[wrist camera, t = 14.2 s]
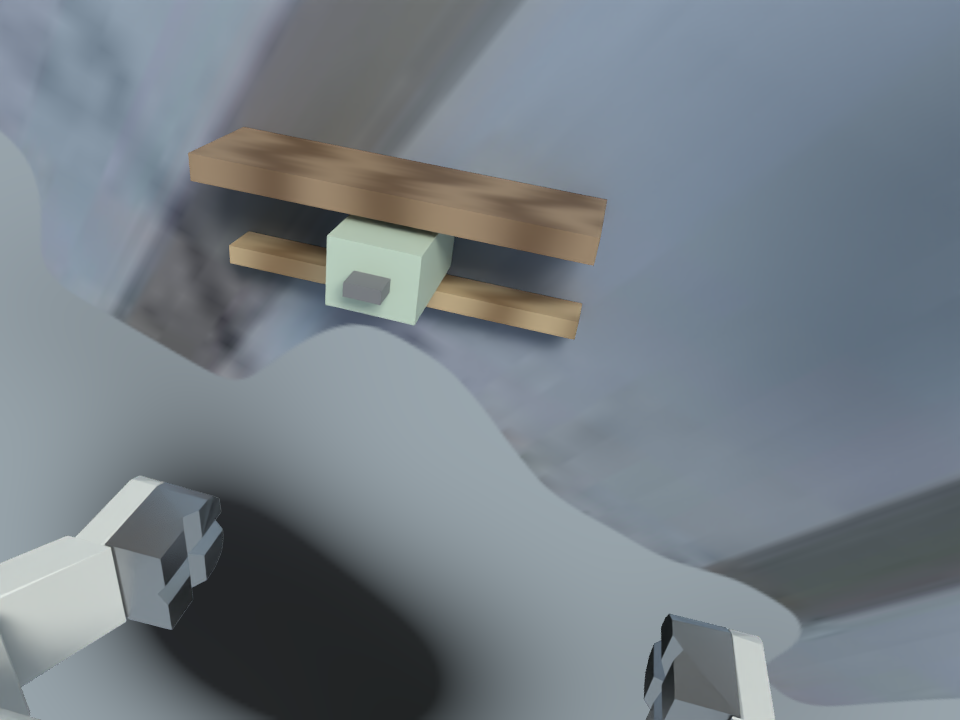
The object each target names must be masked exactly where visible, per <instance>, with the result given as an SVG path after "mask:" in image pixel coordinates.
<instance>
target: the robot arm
mask: <svg viewBox="0 0 960 720" xmlns="http://www.w3.org/2000/svg"><path fill="white" fill-rule="evenodd" d="M220 513H221V508H220V501H219V498H216V497H214V496H211V495H208V494H204V493H201V492H197V491H194V490H190V489H187V488H184V487H180V486H176V485H173V484H170V483H166V482H162V481H158V480H155V479H151V478H147V477H144V476H138V477H135V478H133V479H131V480H130V481H129V482H128V483H127V484H126V485H125V486H124V487H123V488H122V489H121V490H120V491H119V492H118V493H117V494H116V496H114V497H113V498H112V499H111V501H110V502H109V503H108V504H107V505H106V506H105V507H104V508H103V509H102V510H101V511H100V512H99V513H98V514H97V515H96V516H95V517H94V518H93V519H92V520H91V521H90V522H89V523H88V524H87V525H86V526H85V527H84V528H83V530H82V531H81V532H80V533H79V534H78V535H77V536H76V537H71V536H65V537H63V538H60V539H58V540H55V541H53V542H50V543H48V544H46V545H43V546H41V547H38V548H36V549H34V550H31V551H29V552H26V553H24V554H21V555H19V556H17V557H14V558H12V559H9V560H7V561H4V562H2V563H0V720H39V719H36V718H33V717H30V710H29V707H28V705H27V702H26V699H25V697H24V694H23V691H22V689H21V687H22V686H24V685H25V684H27V683H29V682H30V681H32V680H33V679H35V678H37V677H38V676H40V675H42V674H43V673H44V672H46V671H48V670H50V669H51V668H53V667H54V666H56V665H58V664H59V663H61V662H62V661H64V660H65V659H67V658H69V657H70V656H72V655H73V654H75V653H77V652H78V651H80V650H81V649H83V648H85V647H86V646H88V645H89V644H91V643H92V642H94V641H96V640H97V639H99V638H100V637H102V636H104V635H105V634H107V633H109V632H110V631H112V630H113V629H115V628H117V627H118V626H120V625H121V624H123V623H124V622H126V619H130V620H135V621H139V622H142V623H146V624H150V625H155V626H158V627H163V628H166V629H171V630H172V629H173V628H174V626H175V625H176V623H177V622H178V620H179V619H180V618H181V616H182V615H183V613H184V611H185V610H186V609H187V607H188V606H189V605H190V603H191V602H192V600H193V595H192V587H194V586H196V585H198V584H199V583H201V582H204V581H205V580H207V579H208V577H209V576H210V574H211V573H212V571H213V570H214V568H215V566H216V564H217V561H218V559H219V556H220V554H221V551H222V545H223V529H222V528H221V527H220V525H219V524H218V523H217V522H216V518H217V517H218V515H219V514H220ZM645 673H646V674H645V683H644V700H645V702H646V704H647V705H648V707H649V708H650V711H649V714H648V716H647V718H646V720H775V715H774V708H773V702H772V696H771V690H770V684H769V678H768V672H767V665H766V659H765V653H764V647H763V642H762V641H761V639H760V637H759V636H755V635H751V634H747V633H743V632H739V631H735V630H731V629H727V628H725V627H721V626H717V625H713V624H709V623H705V622H701V621H697V620H693V619H689V618H685V617H681V616H677V615H673V614H668V616H667V617H665V620H664V622H663V624H662V626H661V641H659V642H656V643H654V645H653V648H652V650H651V653H650V655H649V659H648V664H647V669H646V672H645Z"/></svg>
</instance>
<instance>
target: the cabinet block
mask: <svg viewBox="0 0 960 720" xmlns="http://www.w3.org/2000/svg"><path fill="white" fill-rule="evenodd" d="M454 238H455V236H451V235H446V234H441V233H437V232H432V231H427V230H422V229H418V228H413V227H408V226H403V225H399V224H394V223H389V222H384V221H380V220H375V219H370V218H365V217H361V216H356V215H351V214H350V215H349V216H348V217H347V218H346V219H344V220H343V221H342V222H341V223H340V224H339V225H338V226H337V227H336V228H335V229H334V230H333V231H331V232H330V233H329V234H328V235H327V256H326V294H325V305H329V306H334V307H338V308H342V309H346V310H351V311H355V312H359V313H364V314H368V315H372V316H377V317H381V318H385V319H389V320H394V321H398V322H402V323H407V324H411V325H415V324H416V322H417V320H418V319H419V317H420V315H421V314H422V312H423V311H424V309H425V307H426V306H427V304H428V302H429V301H430V299H431V298H432V296H433V294H434V293H435V291H436V289H437V288H438V286H439V284H440V283H441V281H442V280H443V278H444V276H445V275H446V273H447V271H448V270H449V268H450V266H451V261H452V253H453V246H454Z"/></svg>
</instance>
